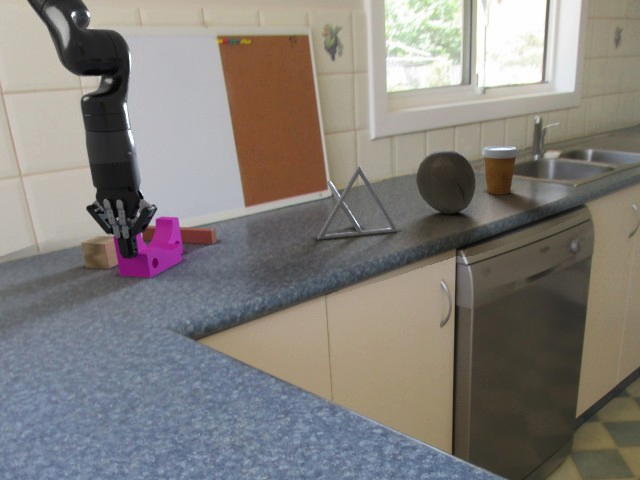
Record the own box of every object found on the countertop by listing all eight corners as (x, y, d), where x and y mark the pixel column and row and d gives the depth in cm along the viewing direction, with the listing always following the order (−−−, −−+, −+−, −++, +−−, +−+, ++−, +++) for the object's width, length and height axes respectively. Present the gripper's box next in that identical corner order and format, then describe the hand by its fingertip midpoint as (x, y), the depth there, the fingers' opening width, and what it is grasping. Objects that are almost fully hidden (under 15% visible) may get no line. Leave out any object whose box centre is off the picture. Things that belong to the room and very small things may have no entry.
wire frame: (326, 243, 156) (382, 207, 156) (338, 269, 145) (399, 231, 145) (284, 183, 145) (345, 145, 145) (295, 207, 135) (360, 166, 134)
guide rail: (143, 241, 142) (140, 227, 141) (148, 238, 144) (146, 225, 143) (212, 244, 138) (210, 230, 137) (217, 242, 140) (215, 228, 139)
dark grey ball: (476, 207, 166) (477, 146, 161) (472, 221, 153) (473, 155, 148) (421, 206, 168) (420, 146, 163) (412, 219, 155) (411, 155, 150)
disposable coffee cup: (517, 189, 186) (518, 145, 182) (514, 196, 178) (516, 150, 173) (483, 188, 188) (484, 145, 184) (479, 195, 180) (480, 150, 175)
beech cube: (85, 268, 125) (80, 242, 123) (103, 260, 129) (98, 235, 128) (108, 269, 124) (104, 244, 122) (125, 261, 128) (121, 236, 127)
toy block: (150, 278, 118) (144, 237, 116) (120, 276, 120) (113, 236, 117) (194, 254, 132) (189, 217, 129) (166, 253, 134) (161, 216, 131)
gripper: (160, 155, 113) (175, 253, 118) (94, 154, 116) (111, 250, 122) (133, 161, 106) (150, 265, 112) (63, 160, 109) (83, 261, 115)
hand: (129, 257), depth 117 cm, fingers closed
